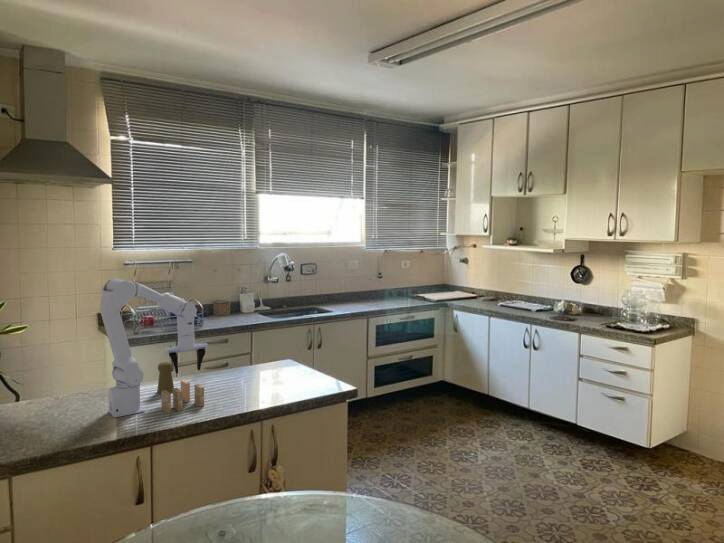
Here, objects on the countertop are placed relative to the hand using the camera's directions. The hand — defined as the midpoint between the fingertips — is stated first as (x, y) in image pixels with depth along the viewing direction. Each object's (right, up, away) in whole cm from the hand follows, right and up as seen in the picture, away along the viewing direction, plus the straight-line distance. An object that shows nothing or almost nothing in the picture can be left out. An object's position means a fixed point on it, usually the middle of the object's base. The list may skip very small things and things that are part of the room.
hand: (187, 371), depth 198 cm
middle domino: (+1, -10, -13) cm, 17 cm away
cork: (-10, -9, +5) cm, 14 cm away
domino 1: (-2, -10, -16) cm, 19 cm away
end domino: (+7, -10, -9) cm, 15 cm away
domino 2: (0, -9, -4) cm, 10 cm away
